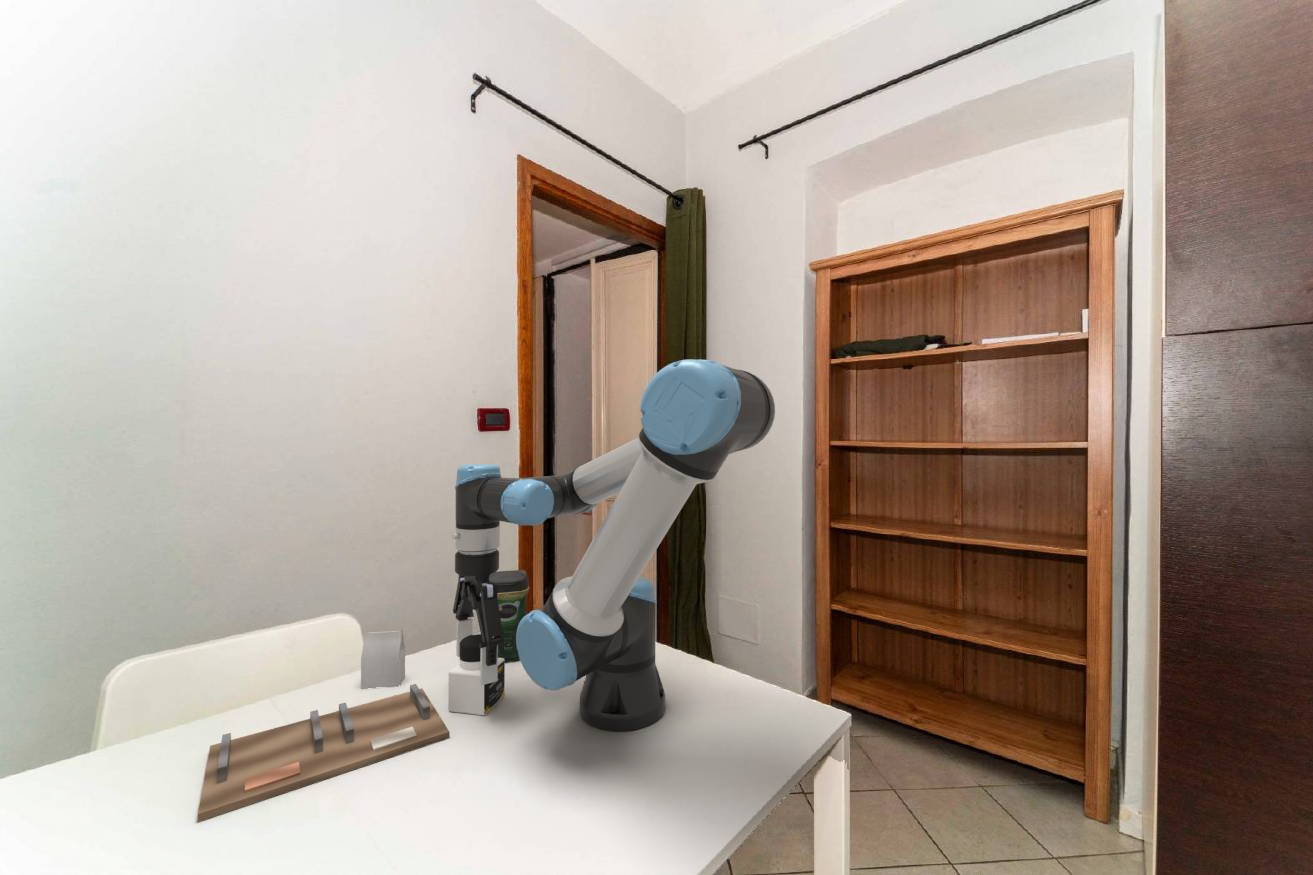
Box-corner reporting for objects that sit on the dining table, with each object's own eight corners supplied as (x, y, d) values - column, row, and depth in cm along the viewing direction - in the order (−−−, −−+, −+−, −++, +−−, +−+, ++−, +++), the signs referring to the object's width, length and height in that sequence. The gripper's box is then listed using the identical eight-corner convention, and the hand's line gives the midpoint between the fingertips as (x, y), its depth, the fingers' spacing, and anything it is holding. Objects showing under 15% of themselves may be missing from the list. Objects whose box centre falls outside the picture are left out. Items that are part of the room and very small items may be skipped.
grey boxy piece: (398, 686, 99) (398, 634, 99) (360, 689, 98) (361, 636, 98) (404, 677, 103) (405, 627, 103) (368, 680, 102) (368, 629, 102)
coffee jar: (529, 646, 118) (529, 565, 118) (530, 660, 111) (530, 574, 111) (484, 650, 116) (485, 568, 116) (482, 665, 108) (482, 577, 108)
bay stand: (449, 737, 82) (449, 718, 82) (197, 822, 64) (197, 797, 64) (422, 693, 96) (422, 677, 96) (210, 752, 78) (210, 732, 78)
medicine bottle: (484, 716, 88) (485, 646, 88) (447, 712, 90) (447, 643, 90) (505, 696, 95) (505, 631, 95) (470, 692, 97) (470, 628, 97)
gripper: (437, 540, 100) (435, 648, 100) (479, 567, 81) (477, 703, 81) (475, 536, 105) (474, 640, 105) (525, 561, 85) (523, 689, 85)
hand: (475, 667), depth 93 cm, fingers open, 13 cm apart
